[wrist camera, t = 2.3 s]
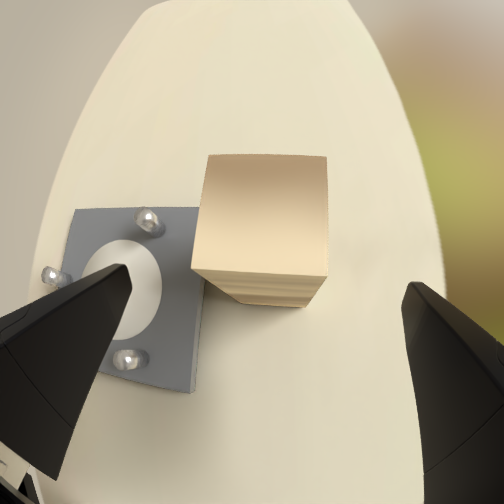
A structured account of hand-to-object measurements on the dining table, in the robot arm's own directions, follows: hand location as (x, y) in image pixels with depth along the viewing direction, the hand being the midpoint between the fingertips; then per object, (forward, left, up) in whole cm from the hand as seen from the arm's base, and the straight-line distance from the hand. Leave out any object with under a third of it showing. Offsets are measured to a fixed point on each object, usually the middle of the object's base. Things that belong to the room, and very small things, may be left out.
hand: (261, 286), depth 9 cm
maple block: (+2, 0, -10) cm, 10 cm away
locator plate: (0, +11, -10) cm, 14 cm away
